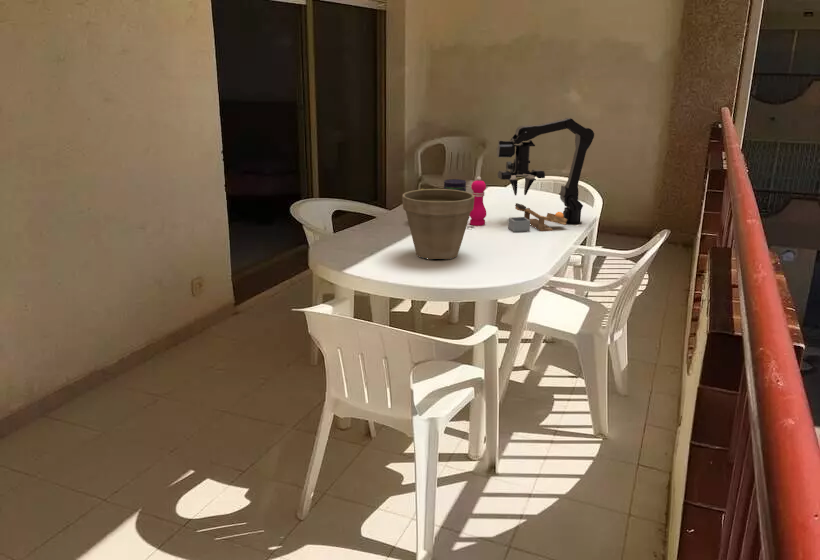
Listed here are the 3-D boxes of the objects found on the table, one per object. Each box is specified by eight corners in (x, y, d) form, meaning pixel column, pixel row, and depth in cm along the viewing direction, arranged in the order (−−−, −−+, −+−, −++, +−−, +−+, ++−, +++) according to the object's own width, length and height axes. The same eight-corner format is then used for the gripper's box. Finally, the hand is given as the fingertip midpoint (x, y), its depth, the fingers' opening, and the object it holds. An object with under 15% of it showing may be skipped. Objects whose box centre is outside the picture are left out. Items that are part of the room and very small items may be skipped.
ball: (558, 220, 273) (563, 213, 272) (562, 222, 269) (566, 214, 269) (551, 217, 271) (556, 209, 271) (555, 219, 268) (559, 211, 268)
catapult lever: (549, 216, 284) (551, 210, 283) (565, 225, 268) (567, 219, 268) (514, 208, 279) (516, 202, 279) (528, 216, 264) (530, 210, 264)
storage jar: (465, 212, 299) (466, 179, 294) (465, 217, 290) (466, 183, 285) (443, 211, 300) (444, 178, 295) (442, 216, 291) (443, 182, 286)
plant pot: (431, 241, 252) (432, 184, 245) (486, 253, 237) (488, 193, 230) (387, 256, 233) (387, 195, 226) (444, 269, 218) (445, 205, 212)
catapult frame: (535, 220, 284) (536, 207, 283) (552, 230, 268) (553, 217, 266) (523, 221, 283) (524, 208, 282) (539, 231, 267) (540, 217, 265)
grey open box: (523, 227, 272) (524, 216, 271) (529, 231, 266) (530, 220, 265) (508, 228, 271) (508, 217, 270) (513, 232, 265) (514, 221, 263)
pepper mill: (485, 226, 274) (487, 178, 268) (467, 225, 275) (469, 177, 269) (486, 222, 281) (488, 175, 274) (469, 221, 282) (471, 174, 276)
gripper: (536, 154, 280) (534, 190, 285) (494, 155, 276) (492, 192, 281) (546, 157, 270) (544, 195, 275) (502, 159, 266) (501, 197, 271)
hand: (520, 195), depth 276 cm, fingers open, 4 cm apart
